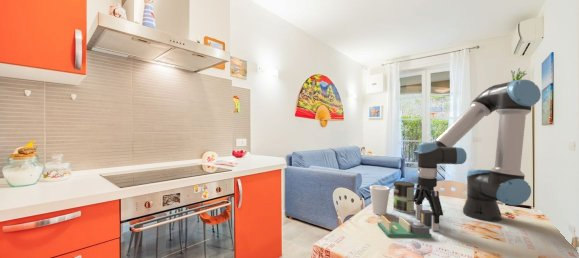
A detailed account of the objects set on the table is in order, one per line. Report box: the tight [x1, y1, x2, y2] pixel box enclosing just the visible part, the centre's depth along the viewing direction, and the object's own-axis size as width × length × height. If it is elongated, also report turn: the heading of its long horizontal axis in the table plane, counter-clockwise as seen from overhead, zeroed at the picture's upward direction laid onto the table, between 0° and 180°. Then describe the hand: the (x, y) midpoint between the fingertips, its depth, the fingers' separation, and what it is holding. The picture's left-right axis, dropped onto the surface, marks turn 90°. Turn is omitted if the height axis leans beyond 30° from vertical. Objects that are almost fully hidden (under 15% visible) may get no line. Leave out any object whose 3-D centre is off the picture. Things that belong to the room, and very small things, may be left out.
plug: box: [419, 209, 433, 228], centre depth 110 cm, size 4×4×6 cm
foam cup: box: [369, 184, 391, 216], centre depth 126 cm, size 10×9×13 cm
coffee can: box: [392, 180, 416, 214], centre depth 131 cm, size 10×10×14 cm
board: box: [377, 215, 432, 238], centre depth 103 cm, size 17×12×5 cm
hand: (426, 224), depth 110 cm, fingers open, 13 cm apart
